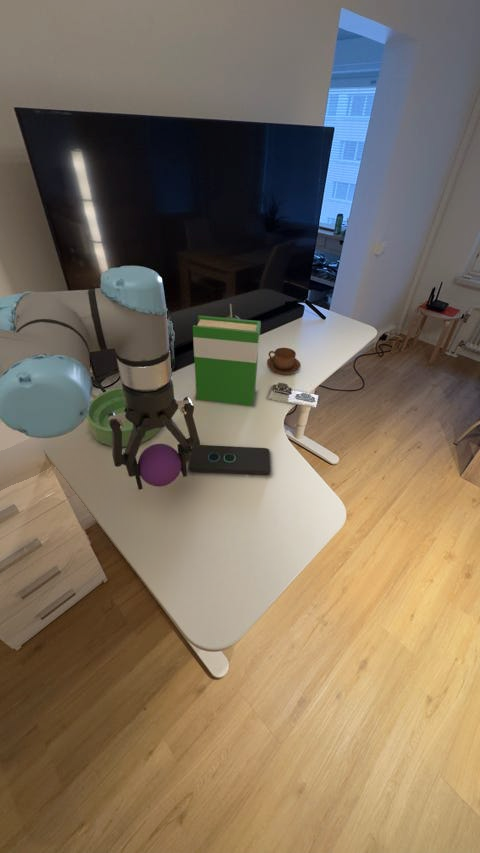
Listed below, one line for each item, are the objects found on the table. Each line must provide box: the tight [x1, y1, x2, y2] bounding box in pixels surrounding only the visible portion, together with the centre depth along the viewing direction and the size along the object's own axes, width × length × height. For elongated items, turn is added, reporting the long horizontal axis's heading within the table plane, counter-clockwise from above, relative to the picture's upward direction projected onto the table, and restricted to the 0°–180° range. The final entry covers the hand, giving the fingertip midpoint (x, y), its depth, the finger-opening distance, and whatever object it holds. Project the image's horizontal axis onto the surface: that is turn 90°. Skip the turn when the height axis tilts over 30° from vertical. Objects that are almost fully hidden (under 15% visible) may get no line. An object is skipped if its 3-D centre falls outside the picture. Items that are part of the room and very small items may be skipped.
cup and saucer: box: [266, 347, 302, 375], centre depth 121 cm, size 12×12×6 cm
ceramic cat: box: [167, 317, 175, 371], centre depth 118 cm, size 20×6×20 cm, turn 3°
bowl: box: [85, 386, 162, 448], centre depth 95 cm, size 20×20×6 cm
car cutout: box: [268, 382, 319, 409], centre depth 108 cm, size 15×7×4 cm, turn 74°
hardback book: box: [192, 315, 262, 407], centre depth 101 cm, size 18×7×24 cm, turn 83°
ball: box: [137, 443, 181, 488], centre depth 64 cm, size 8×8×8 cm
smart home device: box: [188, 444, 271, 476], centre depth 87 cm, size 8×2×20 cm
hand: (161, 477), depth 67 cm, fingers closed on ball, 8 cm apart
